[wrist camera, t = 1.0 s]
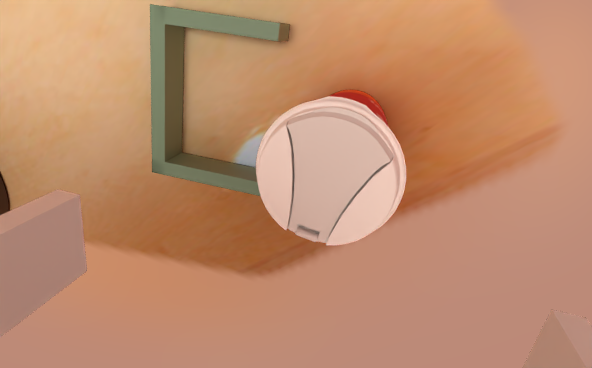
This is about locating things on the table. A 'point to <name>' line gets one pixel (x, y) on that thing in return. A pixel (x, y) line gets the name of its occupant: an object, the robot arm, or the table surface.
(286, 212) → the paper cup
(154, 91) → the green pocket
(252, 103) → the table surface
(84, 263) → the robot arm
